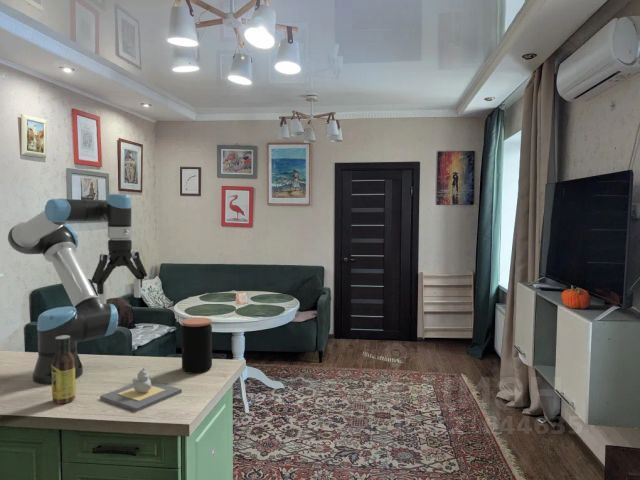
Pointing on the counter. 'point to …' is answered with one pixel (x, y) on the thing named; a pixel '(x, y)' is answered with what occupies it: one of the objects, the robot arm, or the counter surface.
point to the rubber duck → (142, 382)
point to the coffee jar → (196, 345)
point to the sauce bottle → (63, 372)
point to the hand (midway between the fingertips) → (120, 300)
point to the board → (140, 396)
